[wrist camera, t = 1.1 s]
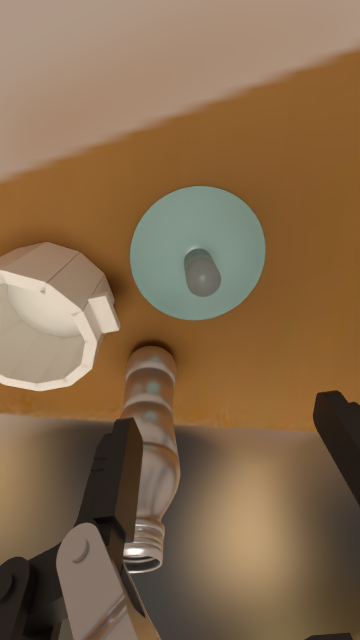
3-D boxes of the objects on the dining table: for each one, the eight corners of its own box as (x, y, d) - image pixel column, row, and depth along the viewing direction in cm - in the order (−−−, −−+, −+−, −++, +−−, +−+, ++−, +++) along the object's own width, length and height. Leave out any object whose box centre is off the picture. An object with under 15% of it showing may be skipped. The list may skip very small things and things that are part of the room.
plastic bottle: (134, 379, 35) (102, 583, 18) (122, 342, 31) (65, 551, 14) (179, 373, 34) (191, 574, 17) (172, 334, 31) (176, 539, 14)
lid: (261, 170, 22) (288, 169, 17) (263, 304, 29) (283, 332, 24) (112, 203, 23) (96, 212, 18) (150, 325, 30) (146, 356, 25)
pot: (104, 229, 24) (79, 252, 17) (139, 328, 30) (130, 375, 23) (-39, 260, 25) (-117, 294, 18) (23, 350, 31) (-18, 401, 24)
